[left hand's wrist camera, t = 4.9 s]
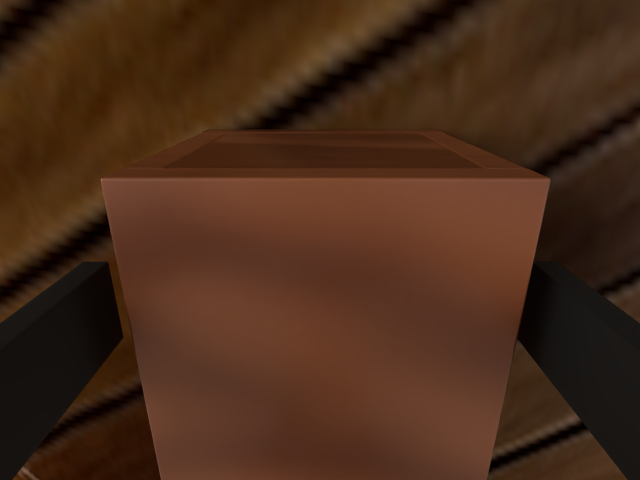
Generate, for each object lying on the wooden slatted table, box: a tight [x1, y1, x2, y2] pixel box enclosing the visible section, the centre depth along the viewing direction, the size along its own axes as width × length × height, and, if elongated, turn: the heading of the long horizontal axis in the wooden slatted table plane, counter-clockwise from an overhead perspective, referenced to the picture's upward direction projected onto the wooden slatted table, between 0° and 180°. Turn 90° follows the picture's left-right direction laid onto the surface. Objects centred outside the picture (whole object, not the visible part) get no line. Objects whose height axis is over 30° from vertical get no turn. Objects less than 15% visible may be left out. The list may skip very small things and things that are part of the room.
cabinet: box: [101, 130, 550, 480], centre depth 17 cm, size 19×10×10 cm, turn 0°
